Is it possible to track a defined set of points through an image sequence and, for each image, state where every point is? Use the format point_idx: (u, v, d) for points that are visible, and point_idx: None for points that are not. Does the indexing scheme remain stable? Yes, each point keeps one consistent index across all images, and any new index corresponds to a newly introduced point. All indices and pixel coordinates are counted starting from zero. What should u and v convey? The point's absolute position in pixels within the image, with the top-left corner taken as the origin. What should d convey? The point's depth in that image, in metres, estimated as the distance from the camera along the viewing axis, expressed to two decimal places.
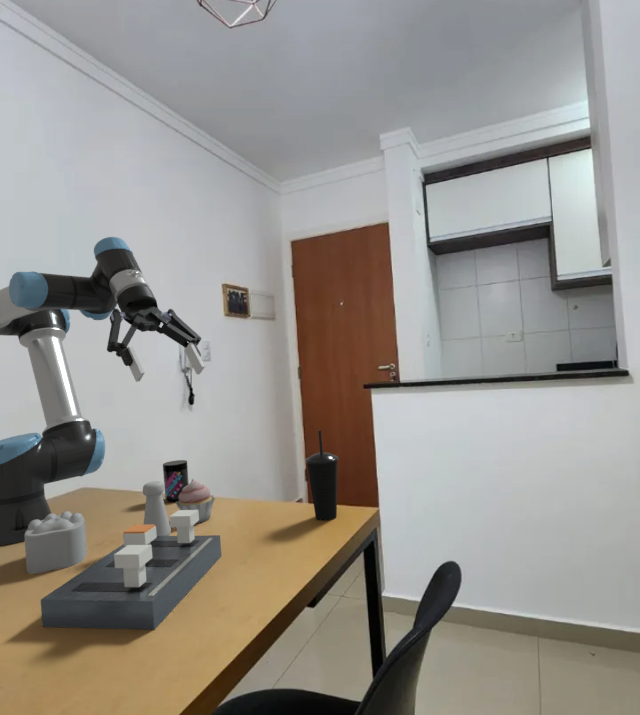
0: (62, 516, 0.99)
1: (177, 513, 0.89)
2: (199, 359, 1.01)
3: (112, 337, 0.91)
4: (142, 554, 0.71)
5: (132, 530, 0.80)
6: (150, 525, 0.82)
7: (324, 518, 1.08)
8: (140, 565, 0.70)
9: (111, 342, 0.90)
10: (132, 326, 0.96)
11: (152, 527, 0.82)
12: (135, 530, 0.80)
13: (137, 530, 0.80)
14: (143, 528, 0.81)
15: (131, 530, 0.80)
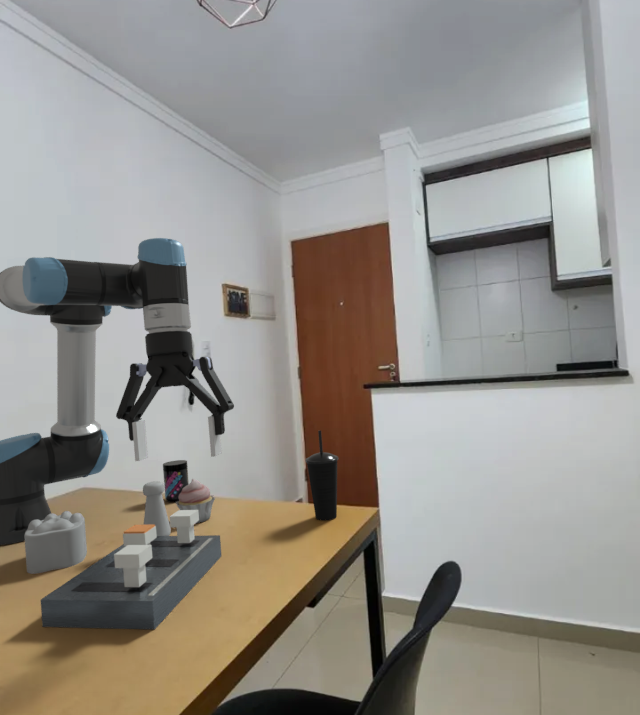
0: (62, 516, 0.99)
1: (177, 513, 0.89)
2: (211, 444, 0.78)
3: (119, 408, 0.81)
4: (142, 554, 0.71)
5: (132, 530, 0.80)
6: (150, 525, 0.82)
7: (324, 518, 1.08)
8: (140, 565, 0.70)
9: (117, 415, 0.81)
10: (145, 391, 0.80)
11: (152, 527, 0.82)
12: (135, 530, 0.80)
13: (137, 530, 0.80)
14: (143, 528, 0.81)
15: (131, 530, 0.80)
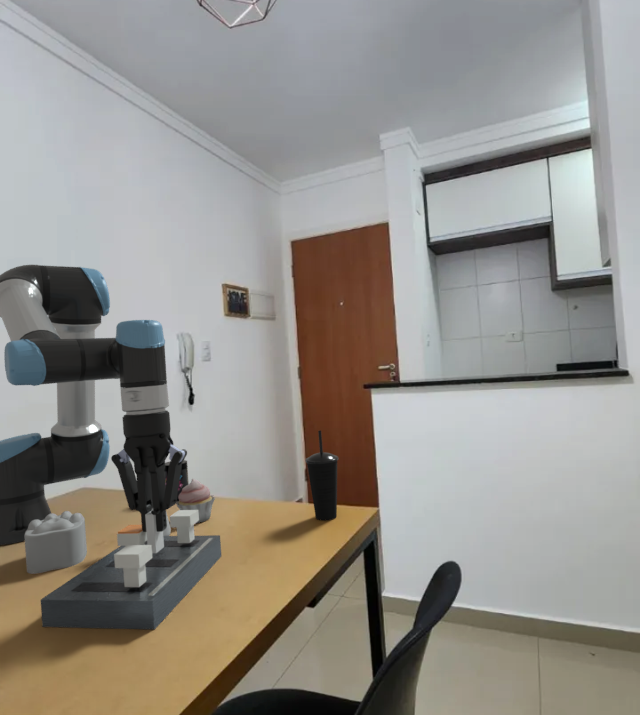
0: (62, 516, 0.99)
1: (177, 513, 0.89)
2: (152, 541, 0.80)
3: (128, 501, 0.81)
4: (142, 554, 0.71)
5: (127, 530, 0.81)
6: None
7: (324, 518, 1.08)
8: (140, 565, 0.70)
9: (130, 508, 0.81)
10: (138, 477, 0.80)
11: None
12: (129, 530, 0.80)
13: (131, 530, 0.80)
14: (137, 528, 0.81)
15: (125, 530, 0.81)
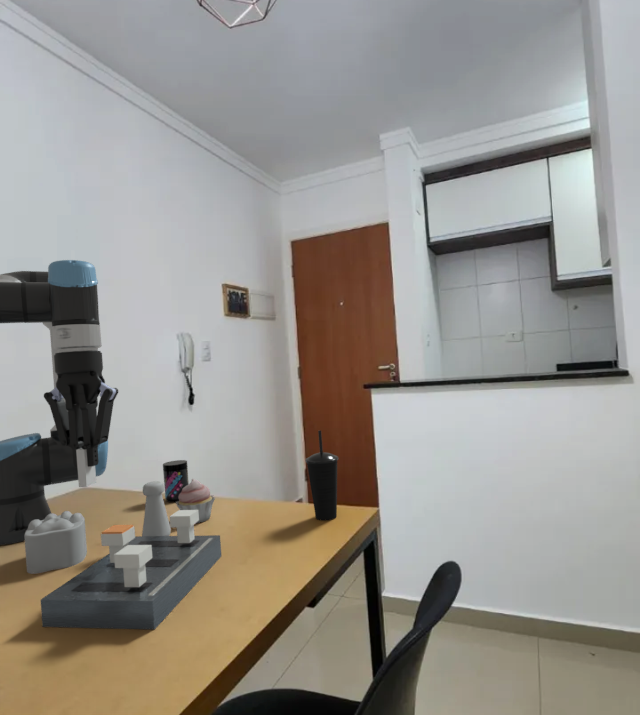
0: (62, 516, 0.99)
1: (177, 513, 0.89)
2: (83, 475, 0.82)
3: (60, 437, 0.83)
4: (142, 554, 0.71)
5: (110, 530, 0.81)
6: (128, 525, 0.83)
7: (324, 518, 1.08)
8: (140, 565, 0.70)
9: (62, 444, 0.83)
10: (69, 414, 0.83)
11: (130, 527, 0.83)
12: (113, 530, 0.81)
13: (115, 530, 0.81)
14: (121, 528, 0.82)
15: (109, 530, 0.81)
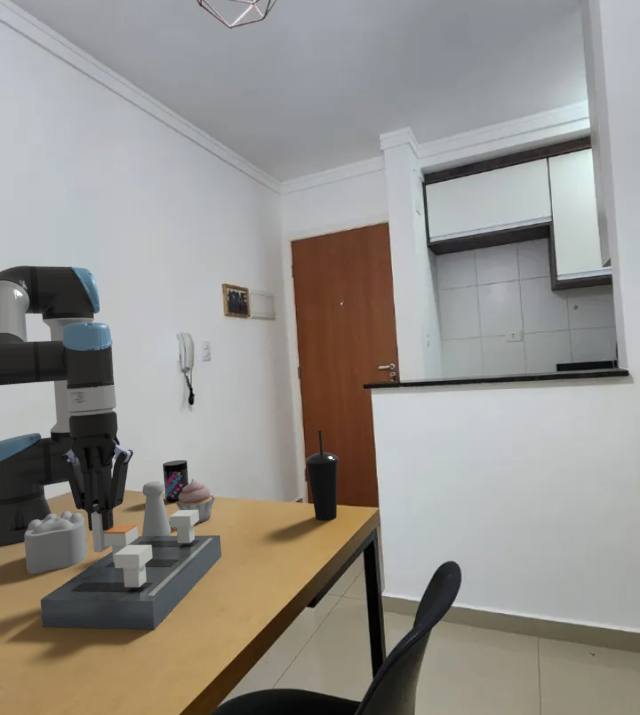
0: (62, 516, 0.99)
1: (177, 513, 0.89)
2: (98, 540, 0.81)
3: (75, 500, 0.82)
4: (142, 554, 0.71)
5: (114, 530, 0.81)
6: (131, 525, 0.83)
7: (324, 518, 1.08)
8: (140, 565, 0.70)
9: None
10: (84, 477, 0.82)
11: (133, 527, 0.82)
12: (116, 530, 0.81)
13: (118, 530, 0.81)
14: (124, 528, 0.82)
15: (112, 530, 0.81)
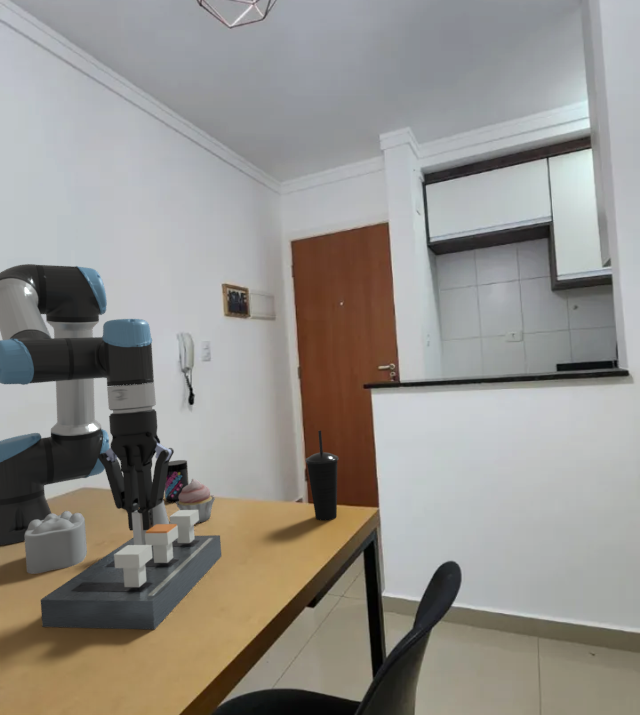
0: (62, 516, 0.99)
1: (177, 513, 0.89)
2: (139, 540, 0.80)
3: (115, 499, 0.81)
4: (142, 554, 0.71)
5: (154, 529, 0.80)
6: (172, 525, 0.82)
7: (324, 518, 1.08)
8: (140, 565, 0.70)
9: (117, 506, 0.81)
10: (124, 476, 0.80)
11: (174, 527, 0.81)
12: (157, 530, 0.80)
13: (159, 530, 0.79)
14: (165, 528, 0.80)
15: (153, 530, 0.80)
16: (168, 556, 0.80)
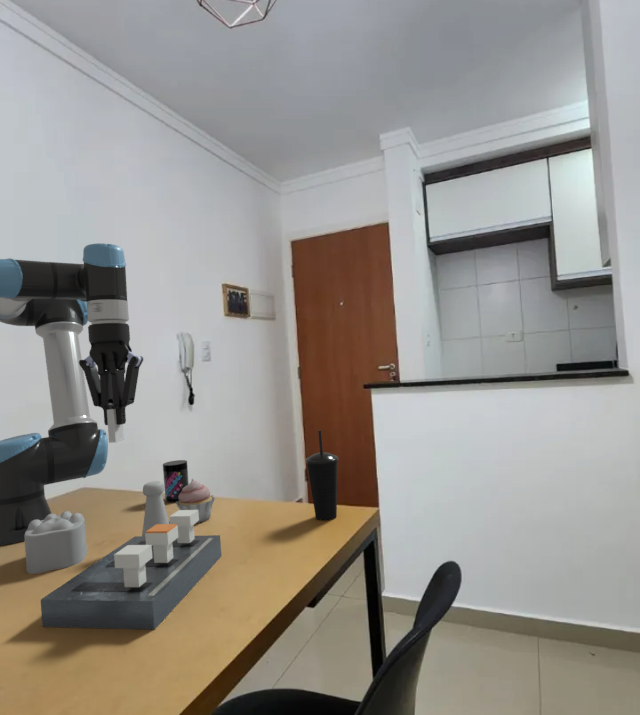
0: (62, 516, 0.99)
1: (177, 513, 0.89)
2: (113, 432, 0.94)
3: (92, 398, 0.95)
4: (142, 554, 0.71)
5: (155, 529, 0.80)
6: (172, 525, 0.82)
7: (324, 518, 1.08)
8: (140, 565, 0.70)
9: (94, 404, 0.95)
10: (101, 378, 0.94)
11: (174, 527, 0.81)
12: (157, 530, 0.80)
13: (159, 530, 0.79)
14: (165, 528, 0.80)
15: (153, 530, 0.80)
16: (168, 556, 0.80)
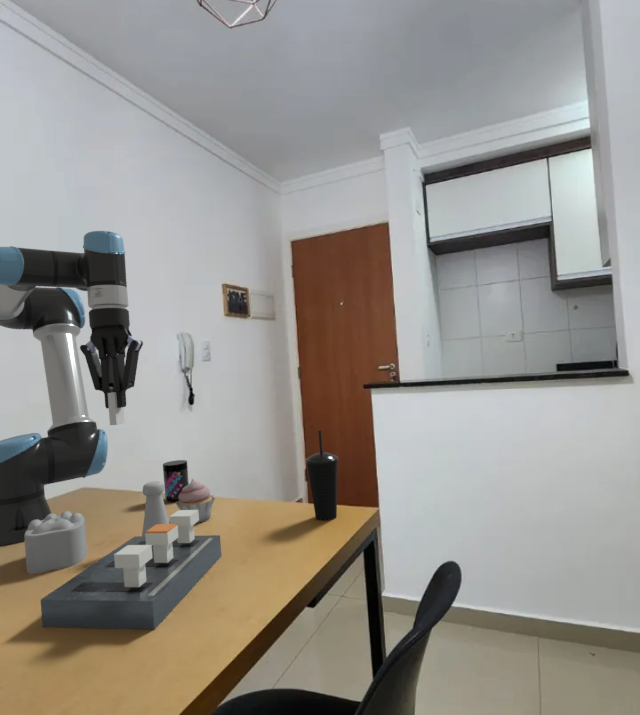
0: (62, 516, 0.99)
1: (177, 513, 0.89)
2: (113, 415, 0.96)
3: (93, 382, 0.97)
4: (142, 554, 0.71)
5: (155, 529, 0.80)
6: (172, 525, 0.82)
7: (324, 518, 1.08)
8: (140, 565, 0.70)
9: (95, 388, 0.97)
10: (102, 362, 0.97)
11: (174, 527, 0.81)
12: (157, 530, 0.80)
13: (159, 530, 0.79)
14: (165, 528, 0.80)
15: (153, 530, 0.80)
16: (168, 556, 0.80)
